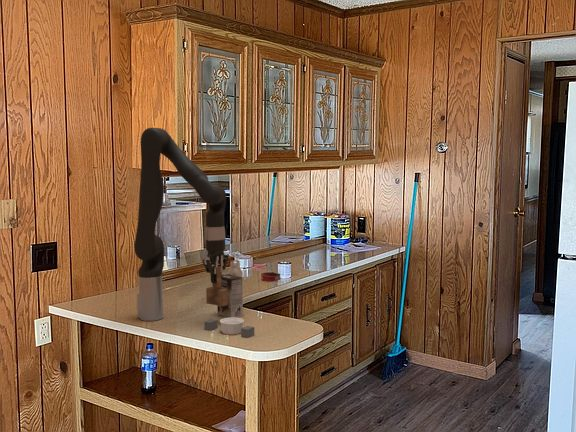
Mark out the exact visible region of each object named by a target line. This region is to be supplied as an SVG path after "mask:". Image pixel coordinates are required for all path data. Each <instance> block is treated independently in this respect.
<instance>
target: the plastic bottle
mask: <svg viewBox="0 0 576 432" xmlns="http://www.w3.org/2000/svg"><path fill="white" fill-rule="evenodd" d="M229 265H230V267H229V269H228V270H227V273H226V274H231V275H235V276H239V277H243V270H242V269H241V267H240V260H236V259H235V260H230V264H229ZM243 305H244V297H242V306H243Z"/></svg>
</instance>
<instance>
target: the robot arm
mask: <svg viewBox="0 0 576 432" xmlns="http://www.w3.org/2000/svg"><path fill="white" fill-rule="evenodd" d="M161 155H163V156H164V157H166V159H168V161H170V162H171V164H172V165H173V167H174V168H175V169H176V170H177V172H178V173H179V175H180V176H181V177H182V178H183V179H184V180H185V182H187V183H188V184H189V186H191V187H192V188H193V189H194V190H195V192H196V193H197V194H198V196H199V198H201V200H202V201H203V202H205V203H206V204H207V205H208V211H207V212H206V214H205V250H206V251H207V257H206V258H205V259H202V264H203V266H204V269H205V272H206V273H208V274H209V275H210V283H211V284H212V283H214V284H215V283H217V275H216V270H217V267H218V266H221V281H222V275H223V273H222V272H223V271H225V270H226V268H227V264H228V261H229V255H228V254H225V252H224V251H225V250H226V229H225V211H226V204H227V193H226V190H225V189H224V187H223V186H220V185H214V184H212V182H210V181H209V178H208V177H209V176H208V175H207V174H206V173H205V172H204V171H203V170H202V169H201V168H200V167H199V166H198V165H196V163H195V162H193V161H192V160H191V159H190V157H188V156H187V155H186V153H184V151H183V150H182V149H181V148H180V146H178V144H177V143H176V142H175V140H174V139H173V138H172V136H171V135H170V133H169V132H167V130H166V129H163V128H161V127H147V128H146V129H144V131H143V132H142V133H141V135H140V156H141V157H140V158H141V160H140V161H141V163H140V164H141V165H140V182H139V195H138V214H137V215H138V216H137V227H136V233H135V237H134V238H135V239H134V244H133V245H134V246H133V248H134V253H135V255H136V258H138V259H139V260H141V261H142V262H141V265H140V267H139V268H138V271H137V272H138V273H137V274H138V294H137V296H136V299H137V300H136V301H137V318H138V319H140V320H142V321H145V322H152V321H158V320H162V319H163V318H164V299H163V297H164V296H163V295H164V293H163V292H164V291H163V287H164V286H163V270H164V266H165V245H164V241H163V240H162V238H161V237H160V236H159V235H157V234H156V225H157V221H158V219H159V216H160V213H161V211H162V208H163V204H164V197H165V195H164V193H165V186H164V179H163V176H162V173H161V168H160V167H161V166H160V164H161V163H160V161H161V160H160V159H161ZM213 268H214V270H213Z"/></svg>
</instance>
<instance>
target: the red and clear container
mask: <svg viewBox="0 0 576 432" xmlns="http://www.w3.org/2000/svg"><path fill="white" fill-rule="evenodd" d="M262 264H263V266H264V267H265V268H266V269H267V270H269V271H270V272H269V271H268V272H262V273H261V274H260V275H261V276H260V279H261V281H262V282H267V283H270V282H271V283H272V282H273V283H274V281H275V282H279V281H278V280H280V281H281V273H280V272H277V271H275V270H272V269H271V268H268V267H267V266H266V265H265V264H264V263H262Z"/></svg>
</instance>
